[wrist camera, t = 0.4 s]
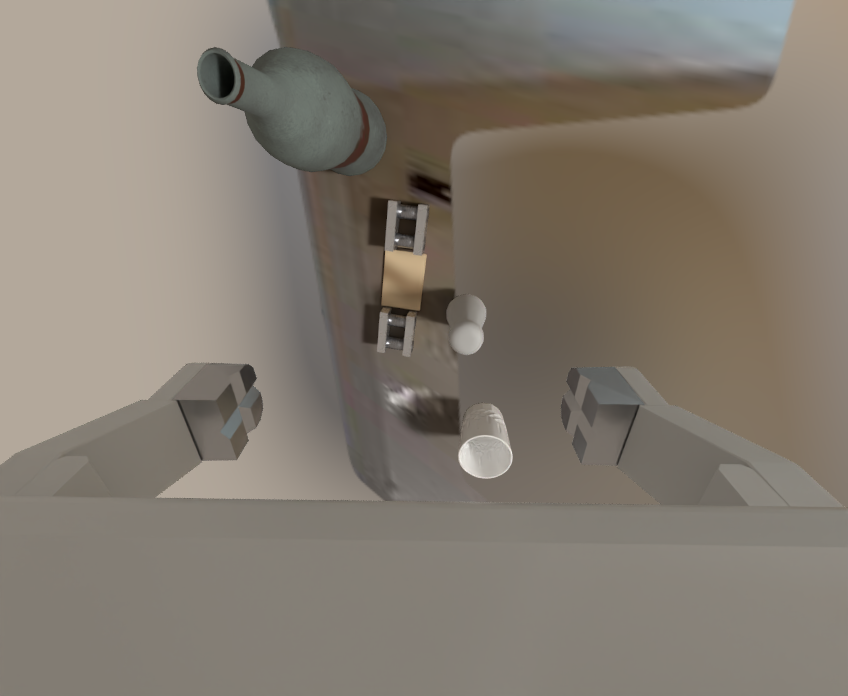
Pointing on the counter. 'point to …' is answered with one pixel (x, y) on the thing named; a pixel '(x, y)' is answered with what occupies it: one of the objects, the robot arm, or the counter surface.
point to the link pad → (403, 279)
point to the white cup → (484, 442)
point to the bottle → (298, 109)
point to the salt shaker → (466, 323)
